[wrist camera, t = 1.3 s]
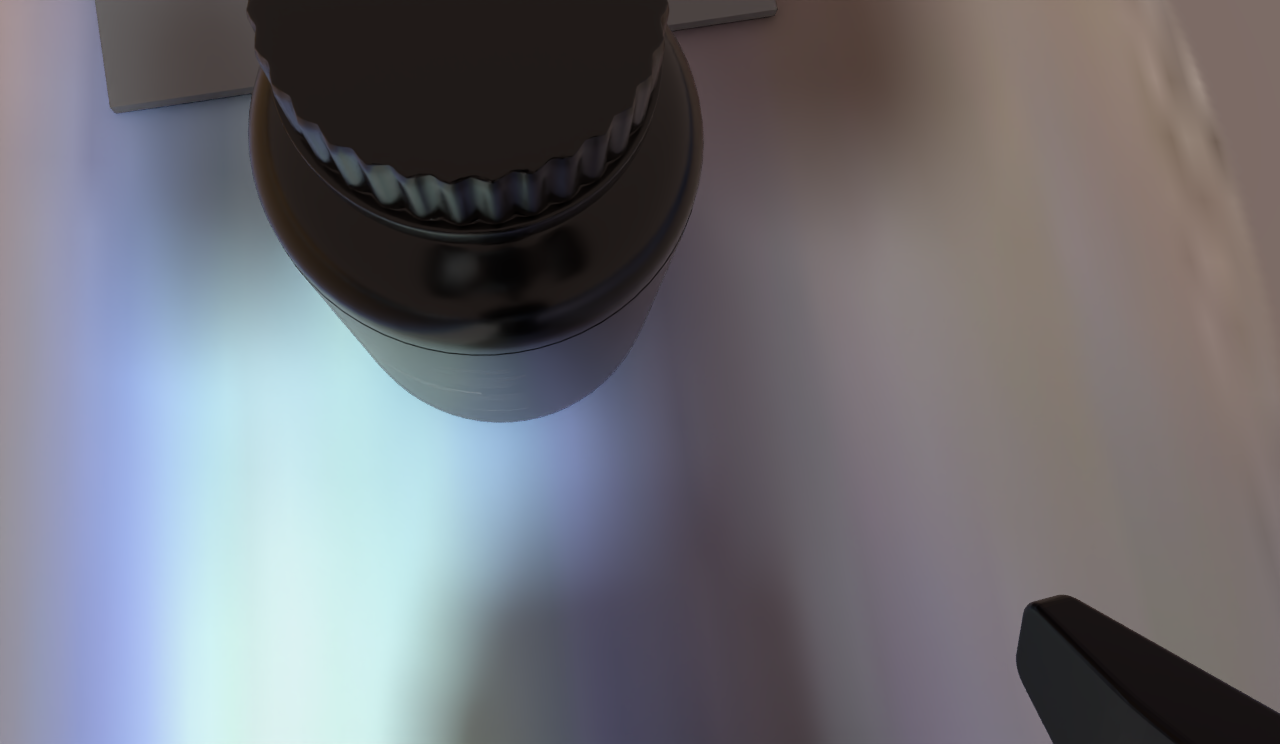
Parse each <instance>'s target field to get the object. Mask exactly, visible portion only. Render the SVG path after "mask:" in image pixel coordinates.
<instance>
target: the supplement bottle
mask: <svg viewBox="0 0 1280 744" xmlns="http://www.w3.org/2000/svg"><path fill="white" fill-rule="evenodd" d="M246 14H247V19H248V21H249V23H250V25H251V27H252V29H253V30H254V32H255V41H254V50H255V56H256V58H257V60H258V62H259V64H260V66H259V69H258V72H257V76H256V80H255V83H254V87H253V91H252V97H251V104H250V110H249V127H248V137H249V154H250V161H251V167H252V173H253V178H254V182H255V185H256V189H257V192H258V196H259V199H260V202H261V204H262V207H263V209H264V212H265V214H266V217H267V219H268V221H269V223H270V225H271V227H272V228H273V230H274V232H275V234H276V236H277V238H278V240H279V241H280V243H281V245H282V246H283V248H284V250H285V251H286V253H287V254H288V256H289V257H290V258H291V260H292V261H293V263H294V264H295V266H296V267H297V268H298V270H299V271H300V272H301V273H302V275H303V276H304V277H305V278H306V279H307V280H308V282H309V283H310V284H311V285H312V286H313V288H314V289H315V290H316V291H317V292H318V294H319V295H320V296H321V297H322V298H323V299H324V301H325V302H326V303H327V304H328V305H329V307H330V308H331V309H332V310H333V311H334V312H335V314H336V315H337V316H338V317H339V318H340V320H341V321H342V322H343V323H344V324H345V325H346V327H347V328H348V329H349V330H350V331H351V333H352V334H353V335H354V336H355V337H356V338H357V340H358V341H359V342H360V343H361V344H362V346H363V347H364V348H365V349H366V350H367V351H368V353H369V354H370V355H371V356H372V357H373V359H374V360H375V361H376V362H377V363H378V364H379V366H380V367H381V368H382V369H383V370H384V371H385V372H386V373H387V374H388V375H389V376H390V377H391V378H392V379H393V380H394V381H395V382H396V383H397V384H399V385H400V386H401V387H402V388H404V389H405V390H406V391H407V392H409V393H410V394H412V395H413V396H415V397H416V398H418V399H419V400H421V401H423V402H425V403H426V404H428V405H430V406H432V407H434V408H436V409H438V410H441V411H444V412H446V413H449V414H451V415H455V416H458V417H462V418H465V419H471V420H476V421H483V422H517V421H526V420H530V419H535V418H540V417H543V416H546V415H549V414H552V413H555V412H558V411H560V410H562V409H565V408H567V407H569V406H571V405H573V404H574V403H576V402H578V401H580V400H581V399H583V398H584V397H586V396H587V395H589V394H590V393H592V392H593V391H594V390H595V389H597V388H598V387H599V386H600V385H601V384H603V383H604V382H605V381H606V380H607V379H608V378H609V377H610V376H611V375H612V374H613V373H614V372H615V370H616V369H617V368H618V367H619V365H620V364H621V363H622V362H623V360H624V359H625V357H626V356H627V354H628V353H629V351H630V350H631V348H632V346H633V344H634V342H635V341H636V339H637V337H638V335H639V333H640V331H641V329H642V327H643V325H644V323H645V320H646V318H647V316H648V313H649V311H650V309H651V306H652V304H653V302H654V300H655V297H656V295H657V293H658V290H659V288H660V286H661V283H662V281H663V279H664V277H665V274H666V272H667V270H668V267H669V265H670V263H671V260H672V258H673V256H674V253H675V251H676V249H677V247H678V244H679V242H680V240H681V237H682V235H683V232H684V230H685V227H686V225H687V222H688V219H689V217H690V214H691V211H692V208H693V204H694V200H695V197H696V193H697V189H698V185H699V180H700V174H701V168H702V161H703V144H704V141H703V121H702V114H701V108H700V101H699V97H698V93H697V89H696V85H695V81H694V78H693V75H692V72H691V70H690V67H689V64H688V61H687V59H686V57H685V55H684V53H683V51H682V49H681V47H680V45H679V43H678V41H677V39H676V37H675V36H674V34H673V32H672V31H671V29H670V27H669V26H668V24H667V21H668V16H669V3H668V0H248V4H247V9H246Z"/></svg>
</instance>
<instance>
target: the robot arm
mask: <svg viewBox="0 0 1280 744" xmlns="http://www.w3.org/2000/svg"><path fill="white" fill-rule="evenodd" d="M1016 664H1017V669H1018V673H1019V676H1020V679H1021V681H1022V683H1023V685H1024V687H1025V689H1026V691H1027V693H1028V695H1029V697H1030V699H1031V701H1032V703H1033V705H1034V707H1035V709H1036V711H1037V713H1038V715H1039V717H1040V719H1041V721H1042V723H1043V725H1044V727H1045V728H1046V730H1047V732H1048V734H1049V736H1050V738H1051V740H1052V742H1053V744H1280V713H1278V712H1276V711H1274V710H1273V709H1271V708H1269V707H1267V706H1266V705H1264V704H1262V703H1260V702H1259V701H1257V700H1255V699H1253V698H1251V697H1250V696H1248V695H1246V694H1244V693H1243V692H1241V691H1239V690H1237V689H1236V688H1234V687H1232V686H1230V685H1228V684H1227V683H1225V682H1223V681H1221V680H1220V679H1218V678H1216V677H1214V676H1212V675H1211V674H1209V673H1207V672H1205V671H1204V670H1202V669H1200V668H1198V667H1197V666H1195V665H1193V664H1191V663H1189V662H1188V661H1186V660H1184V659H1182V658H1181V657H1179V656H1177V655H1175V654H1174V653H1172V652H1170V651H1168V650H1166V649H1165V648H1163V647H1161V646H1159V645H1158V644H1156V643H1154V642H1152V641H1150V640H1149V639H1147V638H1145V637H1143V636H1142V635H1140V634H1138V633H1136V632H1135V631H1133V630H1131V629H1129V628H1127V627H1126V626H1124V625H1122V624H1120V623H1119V622H1117V621H1115V620H1113V619H1112V618H1110V617H1108V616H1106V615H1104V614H1103V613H1101V612H1099V611H1097V610H1096V609H1094V608H1092V607H1090V606H1089V605H1087V604H1085V603H1083V602H1081V601H1080V600H1078V599H1076V598H1074V597H1071V596H1068V595H1057V596H1053V597H1049V598H1045V599H1042V600H1038V601H1034V602H1031V603H1029V604H1028V605H1027V607H1026V608H1025V609H1024V613H1023V618H1022V624H1021V630H1020V636H1019V641H1018V647H1017V653H1016Z"/></svg>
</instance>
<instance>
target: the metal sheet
mask: <svg viewBox="0 0 1280 744" xmlns="http://www.w3.org/2000/svg"><path fill="white" fill-rule="evenodd" d="M668 3H669V16H668V21H667V24H668V26H669V27H670V29H671V31H674V30H681V29H688V28H695V27H701V26H708V25H715V24H721V23H728V22H735V21H742V20H748V19H755V18H762V17H769V16H775V13H776V11H777V6H776V2H775V0H668ZM95 4H96V11H97V18H98V25H99V32H100V40H101V47H102V54H103V61H104V68H105V75H106V82H107V89H108V96H109V104H110V108H111V109H112V110H113V111H114V112H115V113H123V112H129V111H136V110H143V109H150V108H156V107H163V106H170V105H177V104H183V103H190V102H197V101H203V100H210V99H217V98H224V97H230V96H237V95H244V94H251V93H252V91H253V87H254V83H255V80H256V76H257V72H258V69H259V66H260V64H259V62H258V60H257V58H256V56H255V50H254V41H255V32H254V30H253V29H252V27H251V25H250V23H249V21H248V19H247V14H246V9H247V4H248V0H95Z"/></svg>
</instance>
